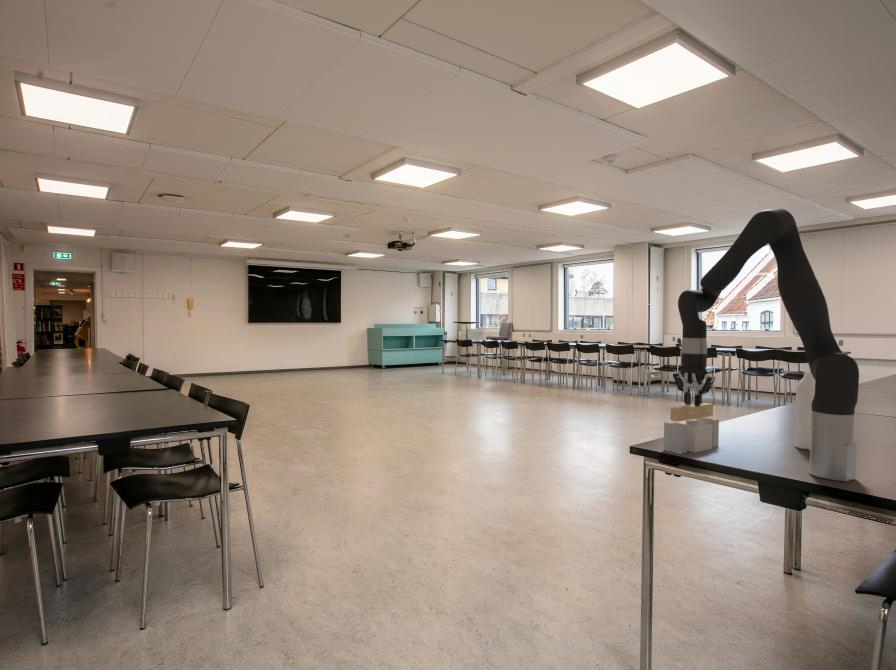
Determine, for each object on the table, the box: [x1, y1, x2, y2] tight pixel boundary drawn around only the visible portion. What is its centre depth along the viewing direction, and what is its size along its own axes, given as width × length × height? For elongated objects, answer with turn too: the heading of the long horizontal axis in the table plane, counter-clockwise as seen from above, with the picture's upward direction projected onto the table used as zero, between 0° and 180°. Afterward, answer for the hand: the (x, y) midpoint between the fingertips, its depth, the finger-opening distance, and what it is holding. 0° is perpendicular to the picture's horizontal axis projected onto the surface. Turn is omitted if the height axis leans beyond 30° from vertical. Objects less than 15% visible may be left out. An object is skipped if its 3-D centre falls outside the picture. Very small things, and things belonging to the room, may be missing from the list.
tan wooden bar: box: [669, 402, 714, 422], centre depth 165 cm, size 5×20×4 cm, turn 123°
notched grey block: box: [663, 417, 720, 455], centre depth 166 cm, size 8×21×9 cm, turn 123°
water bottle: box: [793, 372, 815, 451], centre depth 169 cm, size 9×6×25 cm
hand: (692, 405), depth 165 cm, fingers open, 2 cm apart
